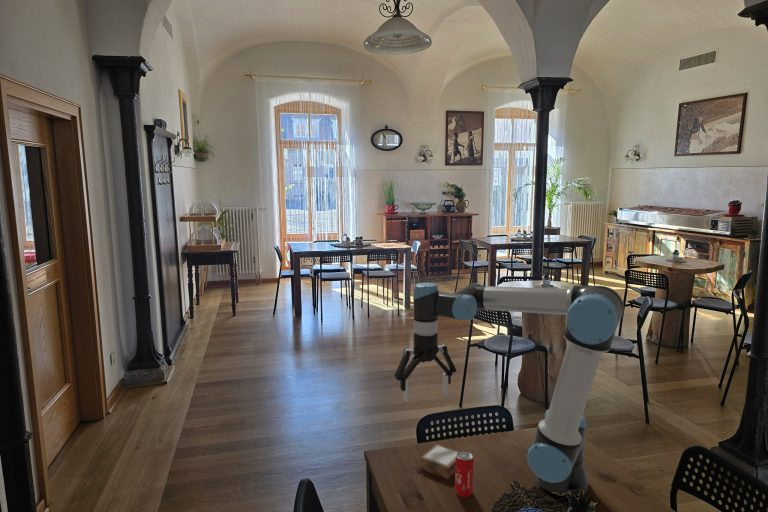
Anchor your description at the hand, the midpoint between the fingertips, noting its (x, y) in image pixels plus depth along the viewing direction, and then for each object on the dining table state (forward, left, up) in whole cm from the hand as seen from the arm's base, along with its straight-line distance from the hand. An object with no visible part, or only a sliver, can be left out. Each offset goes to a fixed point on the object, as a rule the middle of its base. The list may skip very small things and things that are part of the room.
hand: (425, 396), depth 163 cm
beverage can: (-17, +6, -24) cm, 30 cm away
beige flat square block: (-5, -2, -24) cm, 24 cm away
